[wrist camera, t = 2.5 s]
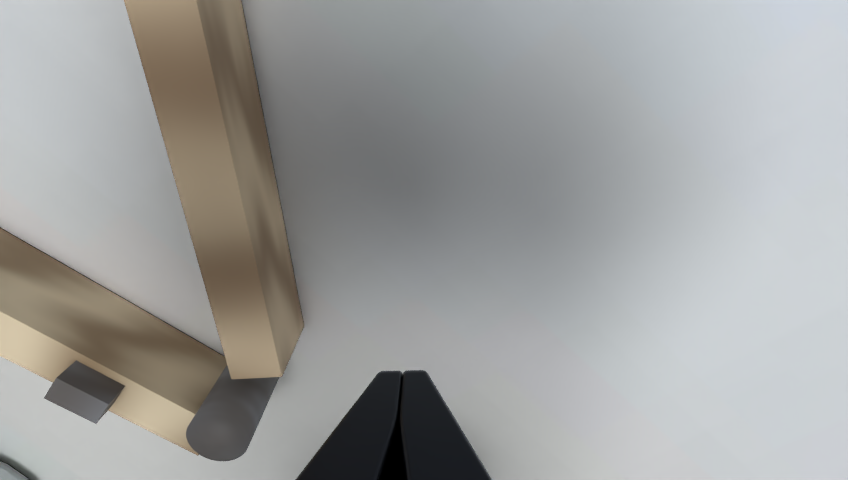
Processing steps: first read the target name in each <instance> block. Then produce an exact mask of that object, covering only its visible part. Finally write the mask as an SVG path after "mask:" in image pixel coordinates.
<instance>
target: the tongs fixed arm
mask: <svg viewBox="0 0 848 480" xmlns="http://www.w3.org/2000/svg"><path fill="white" fill-rule="evenodd" d="M0 356H1V357H3V358H5V359H7V360H9V361H11V362H13V363H15V364H17V365H19V366H21V367H23V368H25V369H27V370H29V371H31V372H33V373H35V374H37V375H39V376H41V377H43V378H45V379H47V380H49V381H51V382H53V384H52V386H51V387H50V389H49V391H48V392H47V394H46V396H45V397H44V398H45V399H47V400H49V401H51V402H53V403H55V404H57V405H59V406H61V407H63V408H65V409H67V410H69V411H71V412H73V413H75V414H77V415H79V416H81V417H83V418H85V419H87V420H89V421H91V422H93V423H95V424H96V423H97V422H98V421H99V420H100V419H101V417H102V416H103V415H104V414H105V413H106V412H107V411H108V410H109V411H111V412H113V413H114V414H116V415H118V416H120V417H122V418H124V419H126V420H128V421H130V422H132V423H134V424H136V425H138V426H140V427H142V428H144V429H146V430H148V431H150V432H152V433H154V434H156V435H158V436H160V437H162V438H164V439H166V440H168V441H170V442H172V443H174V444H176V445H178V446H180V447H182V448H184V449H186V450H188V451H190V452H192V453H194V454H196V455H199V454H200V455H201V456H203V457H205V458H208V459H211V460H216V461H230V460H234V459H236V458H238V457H240V456H242V455H243V454H244V453H245V452H246V450H247V448H248V446H249V444H250V441H251V439H252V437H253V435H254V432H255V430H256V428H257V426H258V423H259V421H260V419H261V417H262V415H263V412H264V410H265V408H266V406H267V403H268V401H269V399H270V397H271V394H272V392H273V390H274V388H275V385H276V383H277V381H278V379H279V377H268V378H248V379H231V376H230V373H229V369H228V366H227V362H226V359H225V357H224V356H222V355H221V354H219V353H217V352H215V351H214V350H212V349H210V348H208V347H207V346H205V345H203V344H202V343H200V342H198V341H196V340H195V339H193V338H191V337H189V336H188V335H186V334H184V333H182V332H181V331H179V330H177V329H175V328H174V327H172V326H170V325H168V324H167V323H165V322H163V321H161V320H160V319H158V318H156V317H154V316H153V315H151V314H149V313H147V312H146V311H144V310H142V309H140V308H139V307H137V306H135V305H133V304H132V303H130V302H128V301H127V300H125V299H123V298H121V297H120V296H118V295H116V294H114V293H113V292H111V291H109V290H107V289H106V288H104V287H102V286H100V285H99V284H97V283H95V282H93V281H92V280H90V279H88V278H86V277H85V276H83V275H81V274H79V273H78V272H76V271H74V270H72V269H71V268H69V267H67V266H65V265H64V264H62V263H60V262H58V261H57V260H55V259H53V258H51V257H50V256H48V255H46V254H45V253H43V252H41V251H39V250H38V249H36V248H34V247H32V246H31V245H29V244H27V243H25V242H24V241H22V240H20V239H18V238H17V237H15V236H13V235H11V234H10V233H8V232H6V231H4V230H3V229H1V228H0Z"/></svg>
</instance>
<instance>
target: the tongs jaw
mask: <svg viewBox="0 0 848 480" xmlns="http://www.w3.org/2000/svg"><path fill="white" fill-rule="evenodd" d="M124 2H125V6H126V9H127V13H128V16H129V20H130V23H131V27H132V30H133V34H134V37H135V41H136V44H137V48H138V51H139V55H140V59H141V62H142V66H143V69H144V73H145V76H146V80H147V83H148V87H149V90H150V94H151V97H152V101H153V104H154V108H155V111H156V115H157V119H158V122H159V126H160V129H161V133H162V136H163V140H164V143H165V147H166V150H167V154H168V157H169V161H170V164H171V168H172V171H173V175H174V179H175V182H176V186H177V189H178V193H179V196H180V200H181V203H182V207H183V210H184V214H185V217H186V221H187V224H188V228H189V231H190V235H191V239H192V242H193V246H194V249H195V253H196V256H197V260H198V263H199V267H200V270H201V274H202V277H203V281H204V284H205V288H206V291H207V295H208V299H209V302H210V306H211V309H212V313H213V316H214V320H215V323H216V327H217V330H218V334H219V337H220V341H221V344H222V348H223V351H224V355H225V359H226V362H227V366H228V369H229V373H230V376H231V379H248V378H268V377H282V376H283V373H284V371H285V369H286V366H287V364H288V362H289V360H290V357H291V355H292V353H293V350H294V348H295V346H296V344H297V341H298V339H299V337H300V334H301V332H302V330H303V328H304V323H303V318H302V313H301V308H300V303H299V297H298V292H297V287H296V282H295V277H294V271H293V266H292V261H291V256H290V251H289V246H288V240H287V235H286V230H285V225H284V220H283V214H282V209H281V204H280V199H279V194H278V189H277V183H276V178H275V173H274V168H273V163H272V157H271V152H270V147H269V142H268V137H267V132H266V126H265V121H264V116H263V111H262V106H261V101H260V95H259V90H258V85H257V80H256V75H255V69H254V64H253V59H252V54H251V49H250V44H249V38H248V33H247V28H246V23H245V18H244V12H243V7H242V2H241V0H124Z"/></svg>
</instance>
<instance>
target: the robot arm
mask: <svg viewBox="0 0 848 480" xmlns="http://www.w3.org/2000/svg"><path fill="white" fill-rule="evenodd" d="M296 480H492V479H491V478H490V476H489V474H488V473H487V471H486V469H485V468H484V466H483V464H482V463H481V461H480V459H479V458H478V456H477V454H476V453H475V451H474V449H473V448H472V446H471V444H470V443H469V441H468V439H467V438H466V436H465V434H464V433H463V431H462V430H461V428H460V426H459V425H458V423H457V421H456V420H455V418H454V416H453V415H452V413H451V411H450V410H449V408H448V406H447V405H446V403H445V401H444V400H443V398H442V396H441V395H440V393H439V391H438V390H437V388H436V386H435V385H434V383H433V381H432V380H431V378H430V376H429V375H428V373H427V372H426V371H424V370H412V371H405V372H404V373H403V374H402V372H401V371H381V372H379V373H378V374H377V375H376V377H375V378H374V379H373V381H372V382H371V383H370V384H369V386H368V387H367V388H366V390H365V391H364V392H363V394H362V395H361V396H360V397H359V399H358V400H357V401H356V403H355V404H354V405H353V406H352V408H351V409H350V410H349V412H348V413H347V414H346V415H345V417H344V418H343V419H342V421H341V422H340V423H339V425H338V426H337V427H336V428H335V430H334V431H333V432H332V434H331V435H330V436H329V437H328V439H327V440H326V441H325V443H324V444H323V445H322V446H321V448H320V449H319V450H318V452H317V453H316V454H315V456H314V457H313V458H312V459H311V461H310V462H309V463H308V465H307V466H306V467H305V468H304V470H303V471H302V472H301V474H300V475H299V476H298V477H297V479H296Z"/></svg>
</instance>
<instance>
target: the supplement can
mask: <svg viewBox="0 0 848 480" xmlns="http://www.w3.org/2000/svg"><path fill="white" fill-rule="evenodd" d="M0 480H28V478H26V477H25V476H24V475H22V474H21V473H19V472H18V471H16V470H15V469H14V468H12V467H11V466H9V465H8V464H5V463H3V462H1V461H0Z"/></svg>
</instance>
